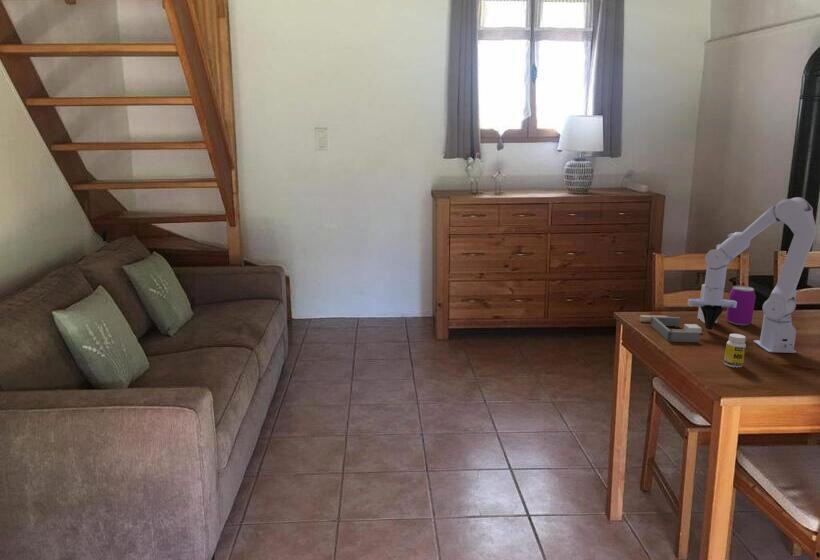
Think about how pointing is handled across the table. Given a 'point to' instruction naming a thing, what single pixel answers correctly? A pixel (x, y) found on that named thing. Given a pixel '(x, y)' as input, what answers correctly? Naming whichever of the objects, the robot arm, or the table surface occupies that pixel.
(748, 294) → the beverage can
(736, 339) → the supplement bottle
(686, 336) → the box
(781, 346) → the robot arm
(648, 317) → the scraper
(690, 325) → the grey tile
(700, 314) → the skincare box
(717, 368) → the table surface
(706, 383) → the table surface
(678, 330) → the walnut tile
